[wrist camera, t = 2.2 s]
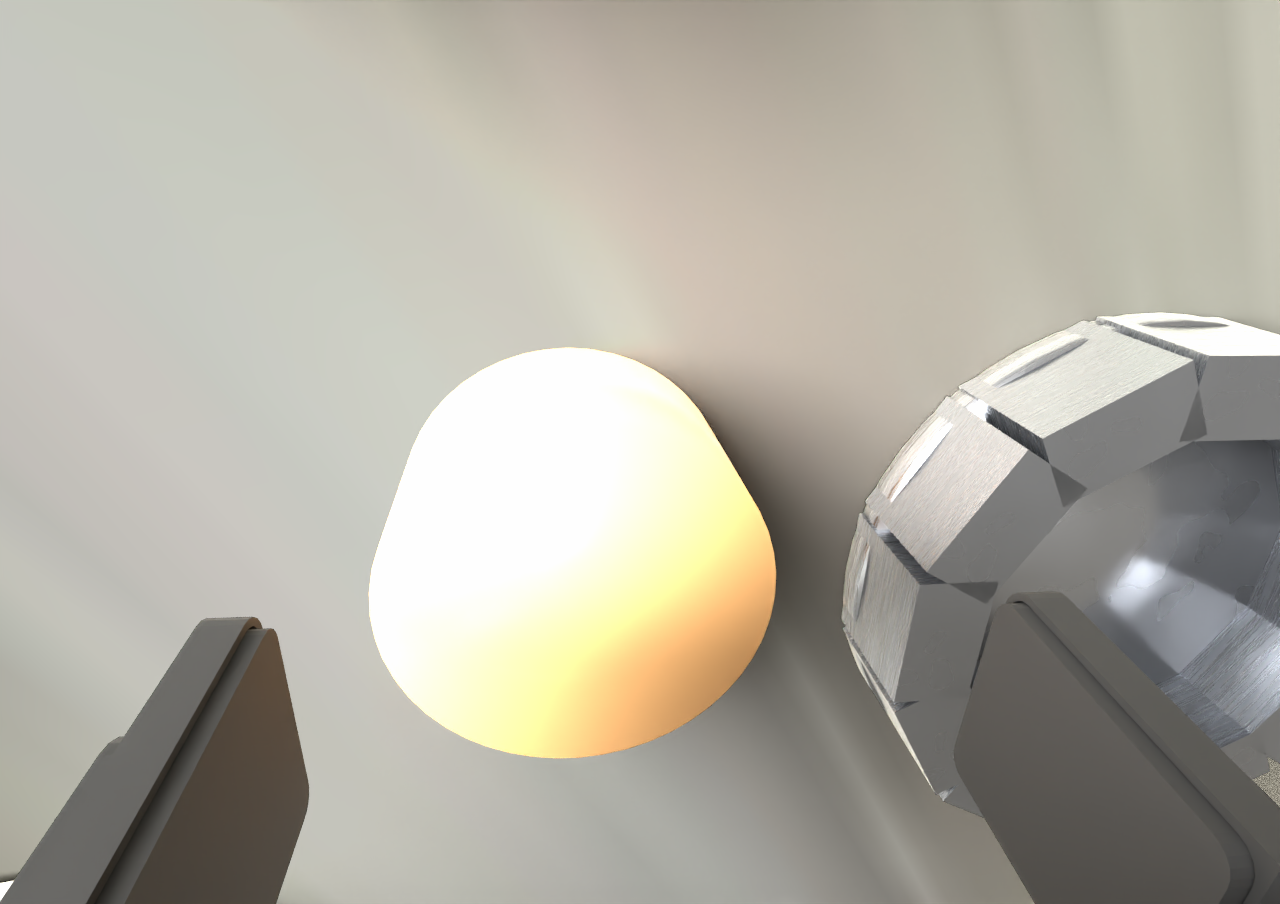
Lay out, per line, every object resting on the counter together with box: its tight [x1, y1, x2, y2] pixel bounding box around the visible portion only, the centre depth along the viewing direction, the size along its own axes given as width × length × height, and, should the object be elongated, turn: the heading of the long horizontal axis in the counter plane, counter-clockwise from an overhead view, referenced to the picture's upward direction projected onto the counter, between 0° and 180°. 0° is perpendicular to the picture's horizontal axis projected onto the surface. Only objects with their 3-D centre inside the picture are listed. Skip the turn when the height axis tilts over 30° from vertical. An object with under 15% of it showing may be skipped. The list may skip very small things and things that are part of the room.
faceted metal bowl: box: [841, 312, 1280, 818], centre depth 18 cm, size 13×13×3 cm
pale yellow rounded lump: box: [369, 348, 776, 758], centre depth 15 cm, size 7×7×4 cm
